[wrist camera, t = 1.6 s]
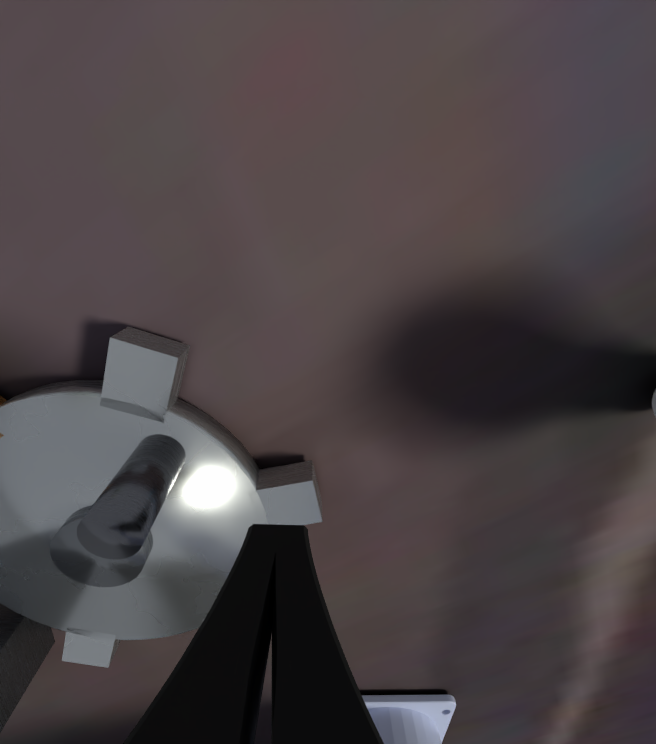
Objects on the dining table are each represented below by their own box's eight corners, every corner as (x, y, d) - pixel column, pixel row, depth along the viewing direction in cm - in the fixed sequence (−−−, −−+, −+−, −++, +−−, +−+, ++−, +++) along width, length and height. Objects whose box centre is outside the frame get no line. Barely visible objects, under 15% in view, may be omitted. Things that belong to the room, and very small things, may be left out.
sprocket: (306, 640, 18) (306, 769, 14) (-31, 639, 17) (-145, 780, 13) (337, 340, 12) (353, 405, 8) (-181, 305, 11) (-492, 359, 7)
